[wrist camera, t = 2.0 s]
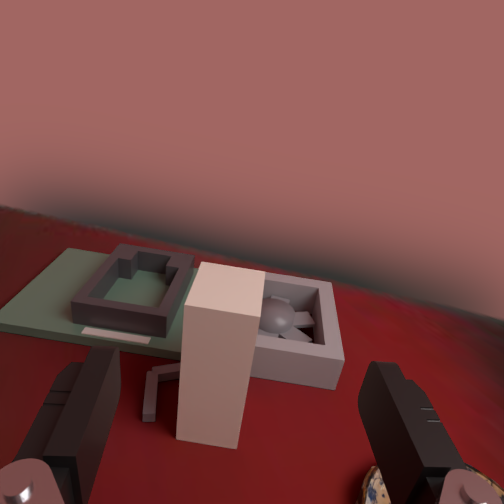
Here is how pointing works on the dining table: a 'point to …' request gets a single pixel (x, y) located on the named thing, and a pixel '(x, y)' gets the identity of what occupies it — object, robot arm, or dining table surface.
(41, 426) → the robot arm
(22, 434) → the dining table surface
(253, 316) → the plug
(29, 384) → the dining table surface
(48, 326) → the header board
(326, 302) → the fan
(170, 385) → the dining table surface
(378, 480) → the burger
